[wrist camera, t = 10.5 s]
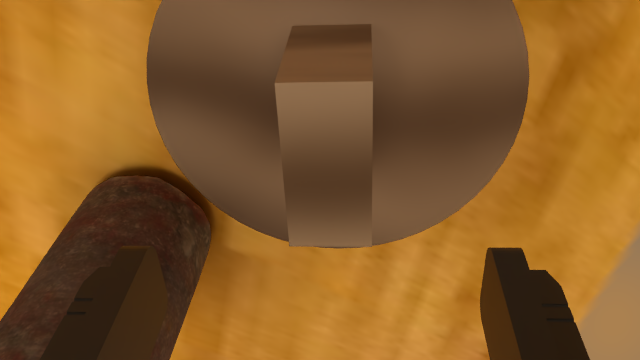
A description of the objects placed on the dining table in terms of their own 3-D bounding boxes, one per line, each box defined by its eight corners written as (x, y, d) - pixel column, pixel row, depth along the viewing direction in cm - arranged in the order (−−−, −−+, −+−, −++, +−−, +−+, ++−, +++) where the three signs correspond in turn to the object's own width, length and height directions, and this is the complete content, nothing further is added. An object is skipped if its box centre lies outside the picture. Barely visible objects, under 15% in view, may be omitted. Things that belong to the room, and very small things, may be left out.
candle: (116, 136, 31) (-166, 527, 15) (239, 200, 33) (112, 614, 16) (71, 231, 35) (-196, 628, 18) (183, 283, 37) (33, 690, 20)
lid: (118, -103, 20) (34, -67, 15) (550, -120, 19) (619, -88, 14) (188, 231, 28) (148, 329, 23) (498, 232, 27) (529, 336, 22)
